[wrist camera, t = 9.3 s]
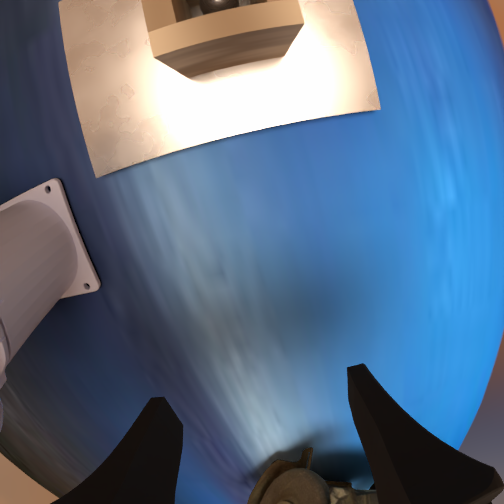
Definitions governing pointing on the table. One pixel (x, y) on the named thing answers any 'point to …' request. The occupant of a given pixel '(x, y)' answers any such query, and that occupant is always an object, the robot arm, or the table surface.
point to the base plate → (204, 81)
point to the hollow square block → (220, 33)
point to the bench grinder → (305, 486)
